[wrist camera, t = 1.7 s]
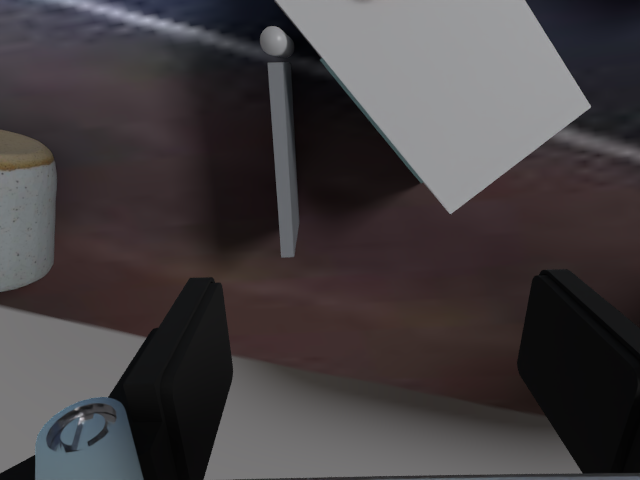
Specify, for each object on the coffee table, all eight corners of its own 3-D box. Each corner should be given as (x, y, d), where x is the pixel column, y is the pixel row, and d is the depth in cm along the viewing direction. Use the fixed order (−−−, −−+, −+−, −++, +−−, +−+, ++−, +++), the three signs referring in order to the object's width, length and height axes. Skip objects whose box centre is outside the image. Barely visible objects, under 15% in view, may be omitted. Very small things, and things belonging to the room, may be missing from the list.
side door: (302, 221, 29) (298, 258, 23) (285, 222, 29) (276, 258, 23) (293, 34, 24) (285, 25, 19) (273, 35, 24) (258, 26, 19)
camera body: (528, 97, 26) (598, 107, 19) (420, 183, 28) (451, 220, 21) (366, -145, 21) (386, -238, 15) (253, -20, 23) (226, -54, 17)
